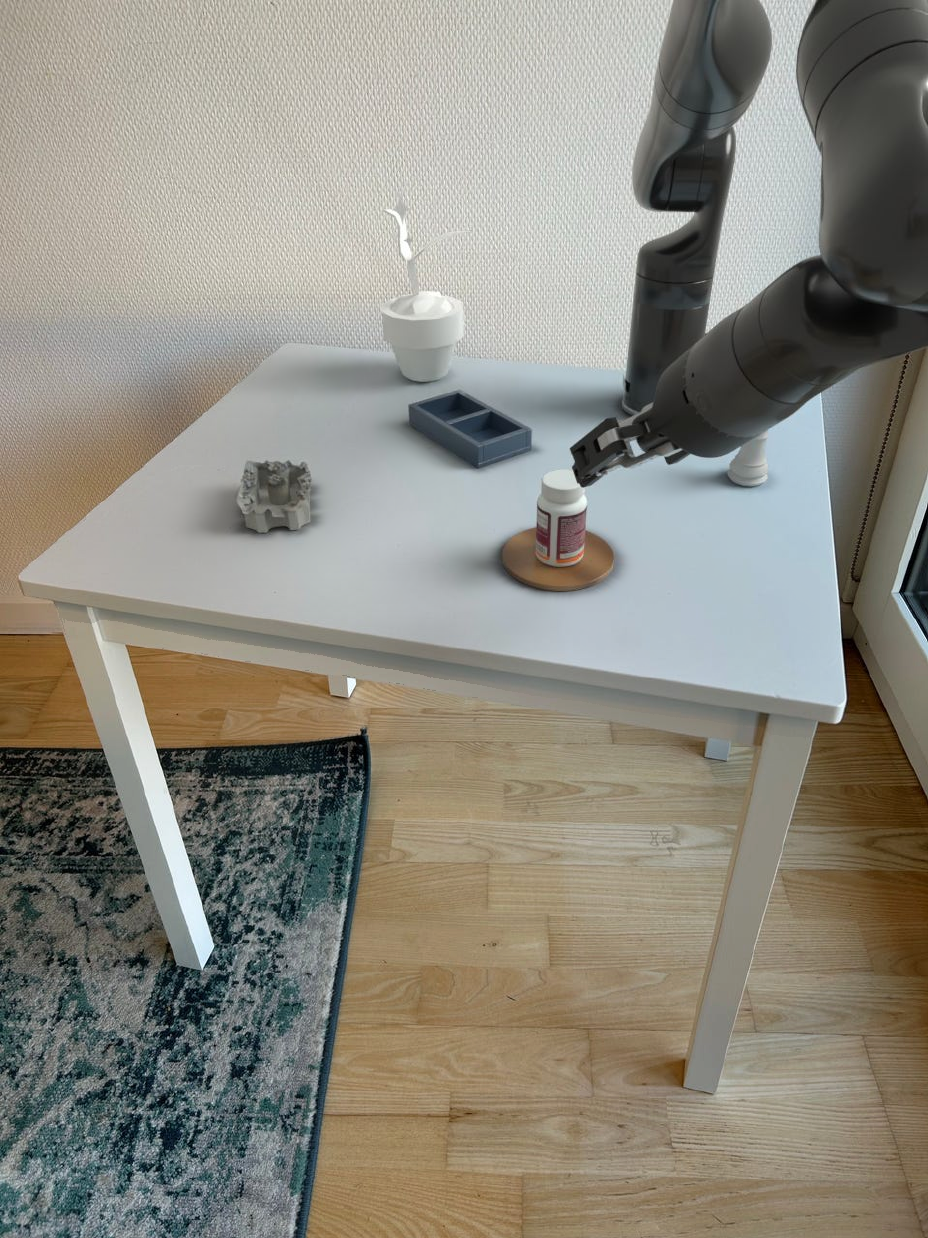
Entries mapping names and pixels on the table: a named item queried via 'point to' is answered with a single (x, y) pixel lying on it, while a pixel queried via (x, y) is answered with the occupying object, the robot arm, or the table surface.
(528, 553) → the disc
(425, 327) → the potted plant
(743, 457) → the rook chess piece
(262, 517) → the egg carton
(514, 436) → the holder
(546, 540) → the pill bottle
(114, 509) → the table surface
